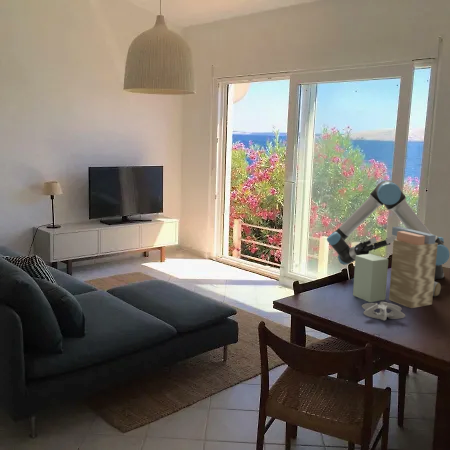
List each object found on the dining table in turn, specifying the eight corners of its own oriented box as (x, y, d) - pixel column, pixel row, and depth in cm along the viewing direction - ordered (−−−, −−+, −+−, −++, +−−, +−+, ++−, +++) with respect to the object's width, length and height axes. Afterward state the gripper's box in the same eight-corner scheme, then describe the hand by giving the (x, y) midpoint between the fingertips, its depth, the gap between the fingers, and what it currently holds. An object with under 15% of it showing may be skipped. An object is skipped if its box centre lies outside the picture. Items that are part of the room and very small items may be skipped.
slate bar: (391, 234, 266) (392, 226, 265) (397, 234, 268) (398, 226, 267) (428, 244, 245) (429, 235, 244) (434, 243, 246) (435, 235, 246)
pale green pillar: (352, 295, 264) (355, 255, 260) (368, 292, 269) (370, 253, 265) (369, 302, 254) (372, 260, 250) (385, 299, 258) (388, 258, 255)
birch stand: (409, 296, 265) (414, 237, 259) (432, 304, 253) (437, 243, 247) (388, 299, 258) (393, 239, 253) (411, 308, 246) (416, 245, 241)
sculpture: (369, 307, 246) (370, 294, 245) (411, 317, 234) (413, 304, 233) (352, 317, 233) (353, 303, 232) (396, 328, 221) (397, 314, 219)
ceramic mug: (435, 298, 262) (436, 283, 261) (419, 294, 268) (420, 279, 266) (443, 294, 270) (444, 279, 269) (427, 290, 275) (428, 276, 274)
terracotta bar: (396, 239, 253) (397, 231, 252) (402, 239, 255) (403, 231, 254) (417, 245, 242) (418, 236, 241) (424, 244, 244) (424, 235, 243)
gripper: (378, 255, 294) (405, 243, 277) (343, 259, 283) (369, 247, 265) (374, 242, 297) (400, 230, 279) (339, 246, 285) (364, 233, 267)
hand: (385, 238), depth 272 cm, fingers open, 13 cm apart
